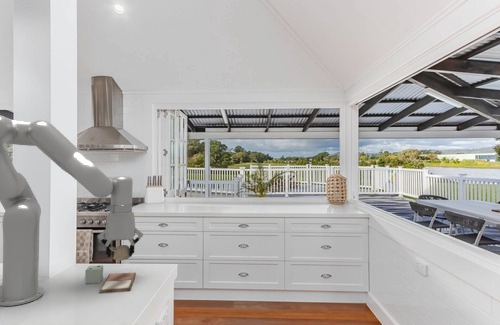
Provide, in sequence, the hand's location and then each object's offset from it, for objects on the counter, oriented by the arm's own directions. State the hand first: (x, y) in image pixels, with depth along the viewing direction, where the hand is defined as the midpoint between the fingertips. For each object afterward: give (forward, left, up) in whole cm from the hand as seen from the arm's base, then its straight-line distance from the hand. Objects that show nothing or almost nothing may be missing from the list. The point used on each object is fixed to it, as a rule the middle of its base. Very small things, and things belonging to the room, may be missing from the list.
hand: (120, 255), depth 117 cm
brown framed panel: (0, -2, -10) cm, 10 cm away
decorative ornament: (0, 0, -2) cm, 2 cm away
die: (-9, +2, -10) cm, 14 cm away
